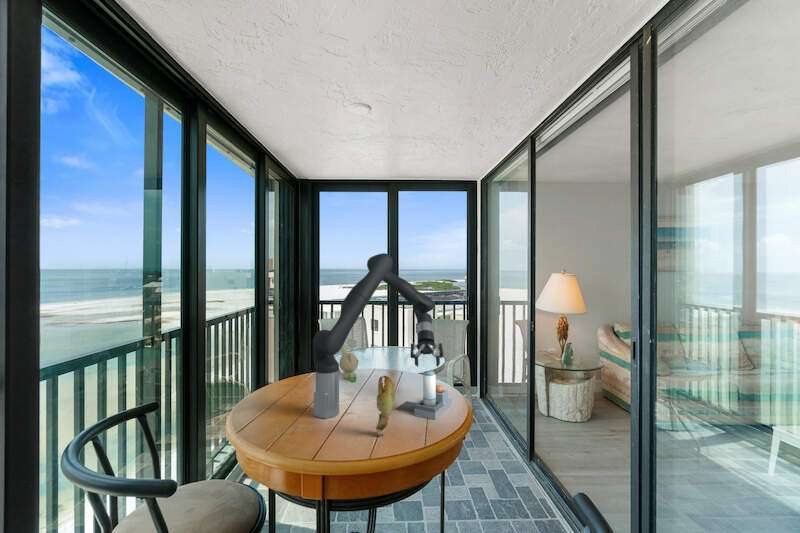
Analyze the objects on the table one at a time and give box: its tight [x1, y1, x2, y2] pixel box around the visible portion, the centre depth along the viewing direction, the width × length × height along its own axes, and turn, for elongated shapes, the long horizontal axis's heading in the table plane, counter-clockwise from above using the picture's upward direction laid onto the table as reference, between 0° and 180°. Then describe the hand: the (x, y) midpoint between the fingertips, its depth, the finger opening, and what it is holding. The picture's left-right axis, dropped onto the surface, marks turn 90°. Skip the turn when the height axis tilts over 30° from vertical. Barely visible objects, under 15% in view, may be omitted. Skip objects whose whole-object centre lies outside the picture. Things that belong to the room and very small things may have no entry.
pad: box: [394, 400, 419, 414], centre depth 148 cm, size 10×10×1 cm
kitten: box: [338, 348, 359, 383], centre depth 190 cm, size 15×10×15 cm
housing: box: [413, 389, 453, 421], centre depth 145 cm, size 17×9×6 cm, turn 151°
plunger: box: [436, 384, 444, 393], centre depth 150 cm, size 3×3×2 cm
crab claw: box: [376, 375, 396, 437], centre depth 123 cm, size 7×5×20 cm
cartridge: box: [422, 370, 437, 408], centre depth 142 cm, size 5×5×14 cm
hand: (427, 365), depth 150 cm, fingers open, 8 cm apart
